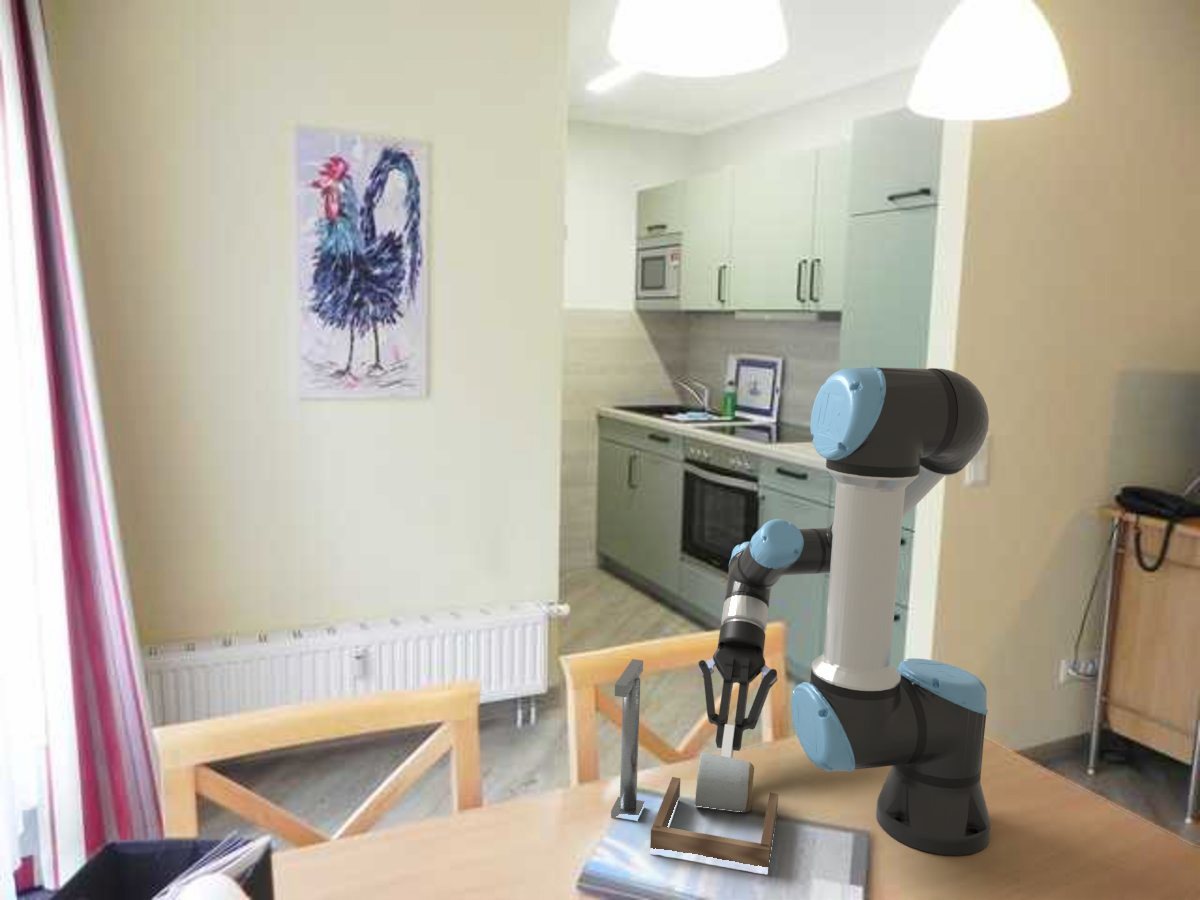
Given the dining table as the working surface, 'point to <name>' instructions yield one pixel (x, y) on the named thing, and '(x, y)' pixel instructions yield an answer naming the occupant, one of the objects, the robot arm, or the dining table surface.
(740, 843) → the tray frame
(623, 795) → the t stake
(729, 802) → the grey upright rounded block
